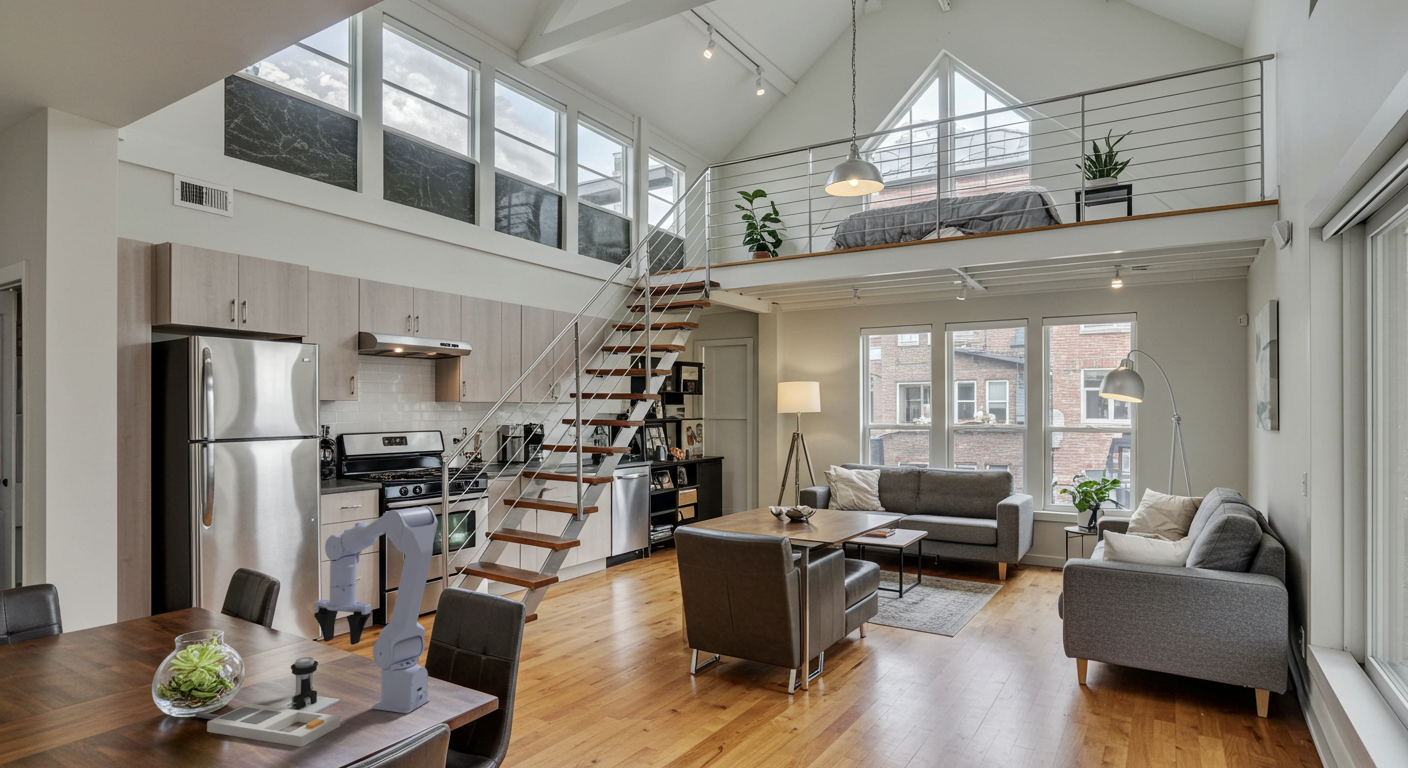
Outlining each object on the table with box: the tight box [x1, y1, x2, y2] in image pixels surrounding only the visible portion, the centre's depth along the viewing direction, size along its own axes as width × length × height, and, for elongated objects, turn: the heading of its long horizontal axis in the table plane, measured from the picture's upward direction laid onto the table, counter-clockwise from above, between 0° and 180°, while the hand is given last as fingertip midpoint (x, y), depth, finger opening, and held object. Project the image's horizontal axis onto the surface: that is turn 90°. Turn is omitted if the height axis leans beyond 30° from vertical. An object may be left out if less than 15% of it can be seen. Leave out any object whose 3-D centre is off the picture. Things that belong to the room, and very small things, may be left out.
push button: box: [287, 656, 319, 710], centre depth 165 cm, size 7×5×10 cm
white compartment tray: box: [194, 703, 341, 748], centre depth 156 cm, size 33×10×3 cm, turn 74°
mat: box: [277, 695, 341, 713], centre depth 166 cm, size 10×10×1 cm
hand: (341, 641), depth 178 cm, fingers open, 7 cm apart
